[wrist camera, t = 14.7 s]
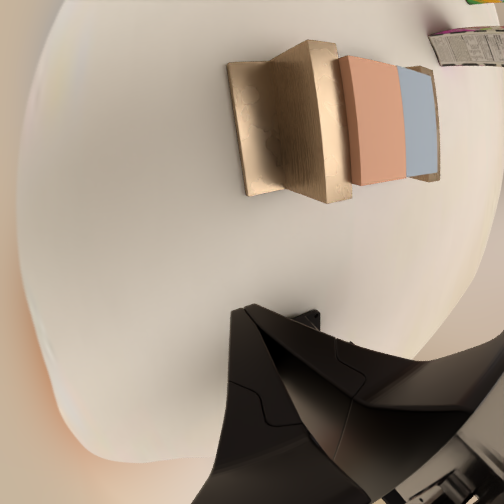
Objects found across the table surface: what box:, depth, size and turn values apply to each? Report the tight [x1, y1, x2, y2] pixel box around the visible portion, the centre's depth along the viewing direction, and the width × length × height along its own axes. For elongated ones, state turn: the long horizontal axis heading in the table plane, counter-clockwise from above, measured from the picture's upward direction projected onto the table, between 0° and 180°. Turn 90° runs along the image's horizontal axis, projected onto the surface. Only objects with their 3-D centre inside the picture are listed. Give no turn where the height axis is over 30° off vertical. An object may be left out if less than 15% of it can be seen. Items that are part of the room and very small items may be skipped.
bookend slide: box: [227, 40, 352, 204], centre depth 16 cm, size 10×5×6 cm, turn 6°
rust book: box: [338, 56, 406, 186], centre depth 17 cm, size 8×4×7 cm, turn 6°
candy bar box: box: [428, 26, 504, 67], centre depth 14 cm, size 11×5×16 cm, turn 122°
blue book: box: [397, 66, 437, 177], centre depth 18 cm, size 8×4×7 cm, turn 6°
